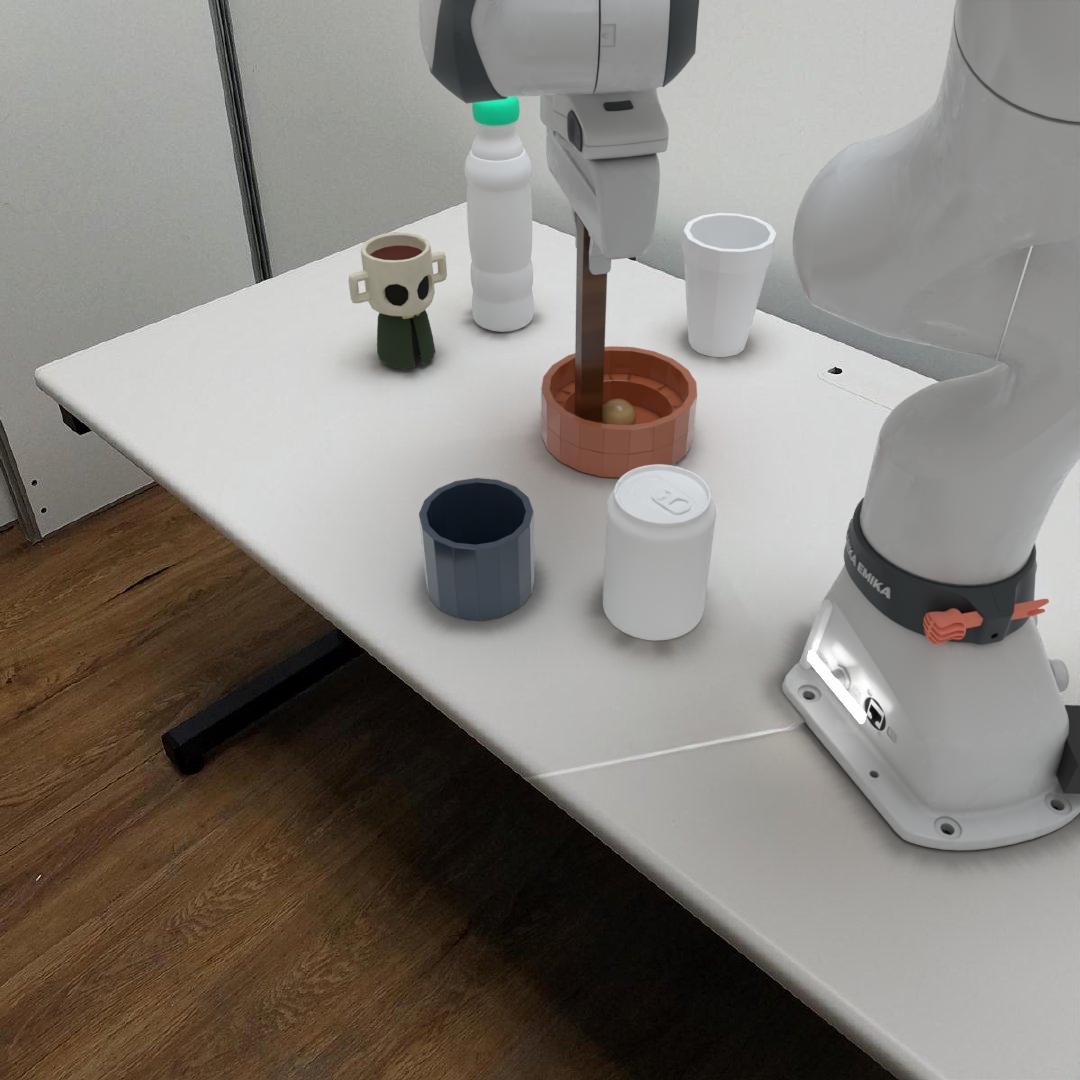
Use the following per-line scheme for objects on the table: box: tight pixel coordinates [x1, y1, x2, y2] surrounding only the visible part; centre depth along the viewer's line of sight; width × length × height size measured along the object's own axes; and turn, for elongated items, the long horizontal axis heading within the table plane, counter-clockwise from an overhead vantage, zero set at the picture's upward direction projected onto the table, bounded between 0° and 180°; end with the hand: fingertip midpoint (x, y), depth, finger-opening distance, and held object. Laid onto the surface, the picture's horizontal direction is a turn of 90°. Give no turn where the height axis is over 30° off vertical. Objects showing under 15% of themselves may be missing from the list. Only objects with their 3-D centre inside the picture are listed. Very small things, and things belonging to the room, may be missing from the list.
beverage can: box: [602, 464, 717, 641], centre depth 82 cm, size 8×8×12 cm
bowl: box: [540, 345, 698, 479], centre depth 103 cm, size 15×15×6 cm
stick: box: [574, 215, 608, 422], centre depth 96 cm, size 2×2×20 cm
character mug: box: [348, 231, 448, 370], centre depth 112 cm, size 11×7×13 cm, turn 120°
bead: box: [600, 399, 636, 425], centre depth 103 cm, size 4×4×4 cm
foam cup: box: [681, 212, 777, 358], centre depth 114 cm, size 10×9×13 cm
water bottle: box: [464, 97, 535, 333], centre depth 115 cm, size 7×7×25 cm
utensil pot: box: [418, 477, 536, 622], centre depth 86 cm, size 9×9×8 cm
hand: (592, 261), depth 92 cm, fingers closed on stick, 2 cm apart
